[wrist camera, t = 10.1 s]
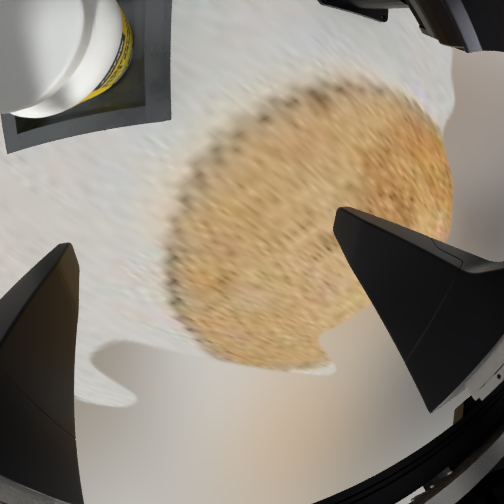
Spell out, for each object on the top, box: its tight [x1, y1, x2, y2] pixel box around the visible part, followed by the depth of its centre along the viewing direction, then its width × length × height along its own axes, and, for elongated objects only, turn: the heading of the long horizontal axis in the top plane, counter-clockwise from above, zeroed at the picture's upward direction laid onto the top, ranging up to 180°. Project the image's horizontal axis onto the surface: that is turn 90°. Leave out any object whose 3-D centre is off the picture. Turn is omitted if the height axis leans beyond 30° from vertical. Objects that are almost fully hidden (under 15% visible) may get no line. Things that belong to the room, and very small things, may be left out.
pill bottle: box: [0, 0, 134, 118], centre depth 9 cm, size 6×6×11 cm
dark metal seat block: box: [1, 0, 172, 154], centre depth 12 cm, size 11×11×4 cm
